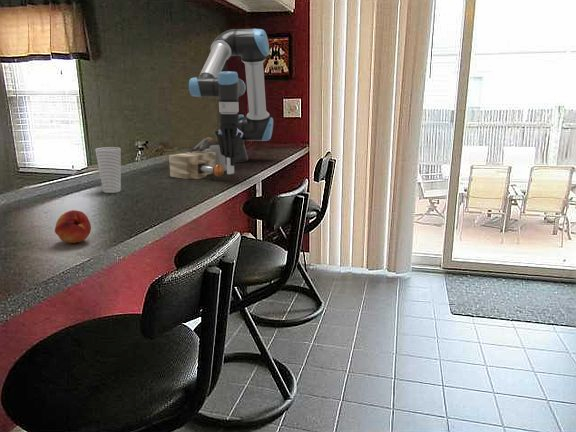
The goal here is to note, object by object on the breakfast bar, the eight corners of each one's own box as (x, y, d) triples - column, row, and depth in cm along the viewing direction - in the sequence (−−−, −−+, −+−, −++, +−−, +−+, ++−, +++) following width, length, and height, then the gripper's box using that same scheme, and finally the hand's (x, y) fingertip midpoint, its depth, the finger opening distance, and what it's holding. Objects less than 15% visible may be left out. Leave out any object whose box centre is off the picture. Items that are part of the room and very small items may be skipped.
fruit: (56, 250, 107) (52, 216, 105) (56, 240, 114) (52, 208, 112) (93, 245, 110) (89, 212, 108) (91, 236, 117) (87, 205, 115)
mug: (231, 168, 219) (230, 145, 216) (225, 171, 211) (225, 147, 208) (207, 167, 221) (206, 144, 219) (200, 170, 213) (199, 146, 210)
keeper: (199, 151, 209) (197, 148, 209) (213, 139, 202) (212, 135, 203) (192, 152, 205) (190, 149, 205) (206, 140, 199) (204, 136, 199)
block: (199, 170, 213) (198, 146, 210) (222, 173, 206) (221, 149, 203) (170, 176, 198) (168, 151, 195) (193, 179, 191) (192, 153, 188)
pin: (194, 171, 200) (193, 160, 199) (224, 175, 191) (224, 164, 190) (186, 173, 196) (185, 162, 195) (216, 177, 187) (216, 165, 186)
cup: (100, 194, 163) (95, 150, 159) (98, 190, 171) (94, 147, 167) (125, 192, 167) (122, 149, 163) (123, 188, 174) (119, 146, 170)
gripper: (209, 113, 180) (212, 173, 186) (236, 114, 173) (237, 176, 180) (222, 112, 186) (224, 170, 193) (248, 113, 180) (249, 173, 186)
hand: (230, 173), depth 186 cm, fingers closed
